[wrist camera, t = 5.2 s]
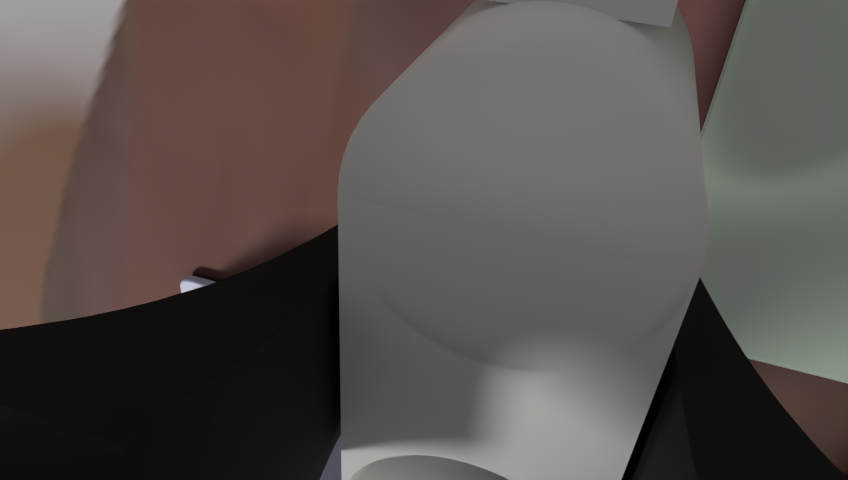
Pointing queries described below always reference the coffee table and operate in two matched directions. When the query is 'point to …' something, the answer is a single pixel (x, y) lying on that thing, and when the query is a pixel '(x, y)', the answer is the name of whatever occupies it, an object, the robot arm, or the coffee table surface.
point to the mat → (782, 186)
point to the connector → (519, 244)
